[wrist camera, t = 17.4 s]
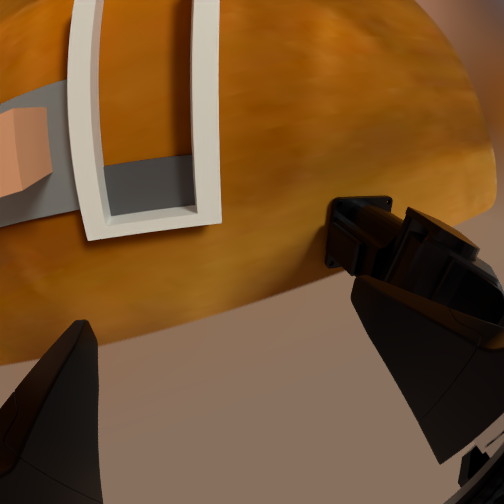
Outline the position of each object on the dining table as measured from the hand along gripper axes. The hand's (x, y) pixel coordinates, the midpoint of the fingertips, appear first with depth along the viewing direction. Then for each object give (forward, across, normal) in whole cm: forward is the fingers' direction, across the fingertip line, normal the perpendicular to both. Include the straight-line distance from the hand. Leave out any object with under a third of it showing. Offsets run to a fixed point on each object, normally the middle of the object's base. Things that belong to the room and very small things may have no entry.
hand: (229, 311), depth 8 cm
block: (+11, +12, -6) cm, 17 cm away
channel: (+12, +3, -8) cm, 14 cm away
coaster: (+12, +12, -5) cm, 18 cm away
